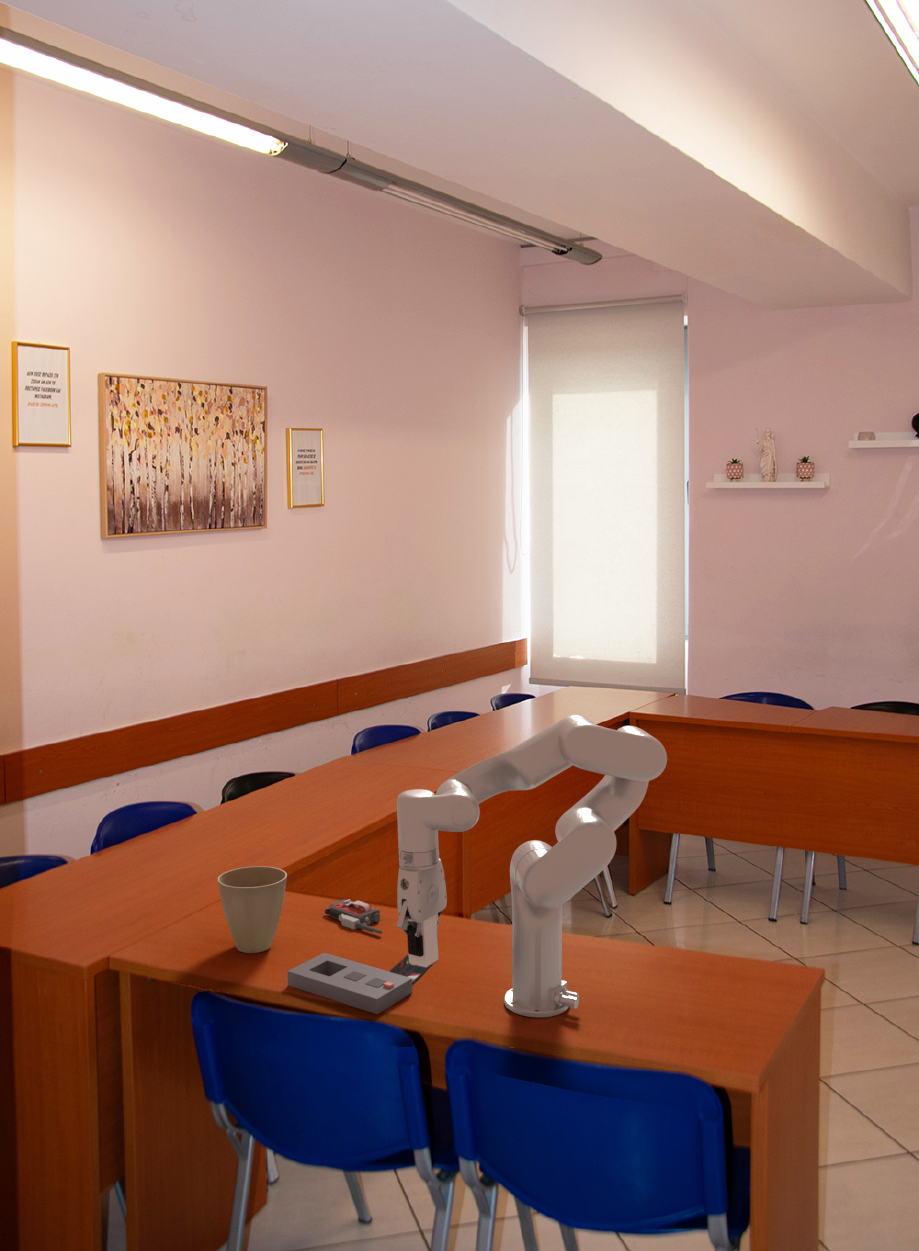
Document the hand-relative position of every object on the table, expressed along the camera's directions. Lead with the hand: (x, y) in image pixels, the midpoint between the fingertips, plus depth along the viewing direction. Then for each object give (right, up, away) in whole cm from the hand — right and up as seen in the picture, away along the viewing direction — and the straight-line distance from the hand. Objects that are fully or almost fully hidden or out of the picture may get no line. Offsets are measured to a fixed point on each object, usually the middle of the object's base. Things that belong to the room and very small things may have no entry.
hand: (423, 949), depth 199 cm
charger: (0, -2, 0) cm, 2 cm away
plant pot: (-38, -10, +33) cm, 51 cm away
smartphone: (-4, -11, +20) cm, 23 cm away
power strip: (-15, -11, +11) cm, 21 cm away
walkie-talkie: (-16, -9, +47) cm, 50 cm away
